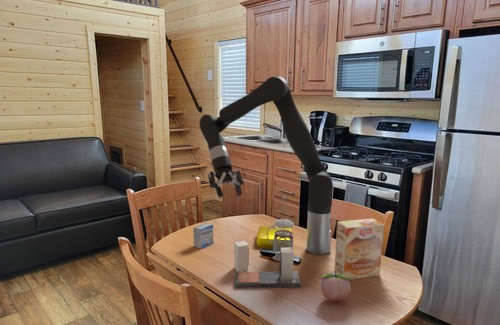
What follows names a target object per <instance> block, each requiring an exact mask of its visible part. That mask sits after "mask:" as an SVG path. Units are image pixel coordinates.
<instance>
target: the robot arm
mask: <svg viewBox="0 0 500 325" xmlns="http://www.w3.org/2000/svg"><path fill="white" fill-rule="evenodd" d="M270 102H273V104H274V106H275V107H276V110H277V111H278V114H279V116H280V121H281V125H282V128H283V132H284V134H285V137H286V139H287V141H288V144H289V146H290V147H291V149H292V151H293V153H294V154H295V156H296V157H297V159H298V160H299V162H301V164H302V167H303V168H304V171H305V174H306V176H307V179H308V202H307V223H306V224H307V227H306V228H307V229H306V243H305V244H306V245H305V246H306V247H305V248H306V251H307V252H308V253H310V254H313V255H318V256H319V255H321V256H322V255H326V254H330V253H331V244H332V243H331V242H332V241H331V240H332V230H331V219H332V218H331V216H332V215H331V213H332V205H333V190H334V186H333V179H332V178H331V175H330V174H329V172H328V171H327V169H326V168H325V166H324V164H323V163H322V160H321V159H320V157H319V154H318V151H317V148H316V144H315V141H314V139H313V137H312V135H311V132H310V130H309V128H308V126H307V124H306V122H305V120H304V118H303V117H302V114H301V113H300V110H298V108H297V106H296V104H295V101H294V98H293V96H292V92H291V89H290V86H289V84H288V82H287V80H286V79H285V78H284V77H282V76H276V75H273V76H270V77H269V78H267V79H266V80H265V81H264V82H263V83H261V84H260V85H259V86H258V87H257V88H255V89H254V90H252V91H250V92H249V93H248V94H246V95H244V96H243V97H241V98H238V99H237V100H235V101H233V102H231V103H229V104H227V105H226V106H224V107H223V108H221V109H220V110H219V112H218V113H219V114H218V115H219V116H218V117H215V116H213V115H212V114H207V113H206V114H204V115H202V116H201V117H200V119H199V128H200V129H199V130H200V131H201V134H202V135H203V138H204V139H205V141H206V144H207V148H208V152H209V158H210V162H211V165H212V168H213V169H212V170H213V171H212V170H211V171H210V172H209V173H208V174H207V177H208V181H209V182H208V183H209V187H210V189H211V188H212V189H215V192H216V195H217V197H218V198H222V197H224V194H223V190H222V187H221V185H222V184H225V183H227V184H230V185H232V186H233V187H235V193H236V196H237V197H241V196H242V193H243V191H242V187H241V186H242V185H244V184H245V182H244V179H243V177H242V174H241V171H240V170H237V171H234V170H233V166H232V165H233V164H232V162H231V158H230V155H229V151H228V149H227V145H226V142H225V140H224V137H223V135H221V133H222V132H223V131H224V130H225V129H226V128H227V127H229V125H230V124H232V123H234V122H235V121H237V120H239V119H241V118H243V117H245V116H246V115H248V114H249V113H250V112H252V111H253V110H255V109H257V108H259V107H260V106H263V105H264V104H267V103H270ZM215 178H216V179H215ZM216 180H217V181H216Z"/></svg>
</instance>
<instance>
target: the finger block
mask: <svg viewBox="0 0 500 325" xmlns="http://www.w3.org/2000/svg"><path fill="white" fill-rule="evenodd" d="M233 243H234V244H233V247H234V251H233V252H234V253H233V254H234V256H233V257H234V258H233V260H234V261H233V263H234V264H233V267H234V269H235V272H249V259H250V258H249V255H250V254H249V252H250V248H249V244H248V243H247V242H246V241H245V240H243V241H242V240H241V241H235V242H233Z"/></svg>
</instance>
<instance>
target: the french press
mask: <svg viewBox="0 0 500 325" xmlns="http://www.w3.org/2000/svg"><path fill="white" fill-rule="evenodd" d="M281 199H282V200H283V211H285V209H286V208H285V206H286V205H285V204H286V202H285V201H286V200H288V197H287V196H286V195H283V196H282V198H281ZM293 226H295V223H294V222H293V221H292V220H290V219H287V218H281V219H277V220H275V221H274V222H273V225H270V226H268V227H269V229H270V227H271V228H272V227H273V228H274V229H275V227H280V228H283V230H278V231H276V232H275V235H274V242H273V243H274V244H273V248H272V252H273V251H274V253H275V252H280V248H292V249H293V250H294V236H293V231H292V232H290V231H288V230H284V228H293ZM269 229H268V230H269ZM267 236H268V231H267ZM277 237H280V238H278V239H277ZM284 237H287V238H288V239H290V240H288V239H286V238H284ZM267 239H269V237H267ZM279 239H285V240H287V241H285V240H279ZM269 240H270V239H269ZM269 240H268V241H269ZM270 241H271V240H270ZM270 241H269V242H270ZM271 242H272V241H271ZM271 242H270V243H271ZM277 243H279V244H277ZM271 244H272V243H271ZM281 244H282V245H281ZM283 245H285V246H287V247H285V246H283ZM277 246H279V247H277ZM289 246H290V247H289ZM294 256H295V257H296V255H295V254H294ZM279 257H280V253H275V256H273V257H271V258H272V259H273V260H274V261H276V262H277V261H278V262H279Z"/></svg>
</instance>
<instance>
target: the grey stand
mask: <svg viewBox="0 0 500 325" xmlns="http://www.w3.org/2000/svg"><path fill="white" fill-rule="evenodd" d="M294 253H295V252H294V248H293V249H292V248H280V257H279V261H278V264H279V265H278V266H279V268H278V271H243V272H237V271H235V280H234V281H235V284H234V285H235V287H234V288H235V289H236V288H237V289H240V288H241V289H242V288H244V289H245V288H246V289H247V288H251V289H252V288H254V289H255V288H256V289H257V288H259V289H260V288H301V287H302V281H301V279H300V275H299V272H298V271H294V260H295V258H294V255H295V254H294Z"/></svg>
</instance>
